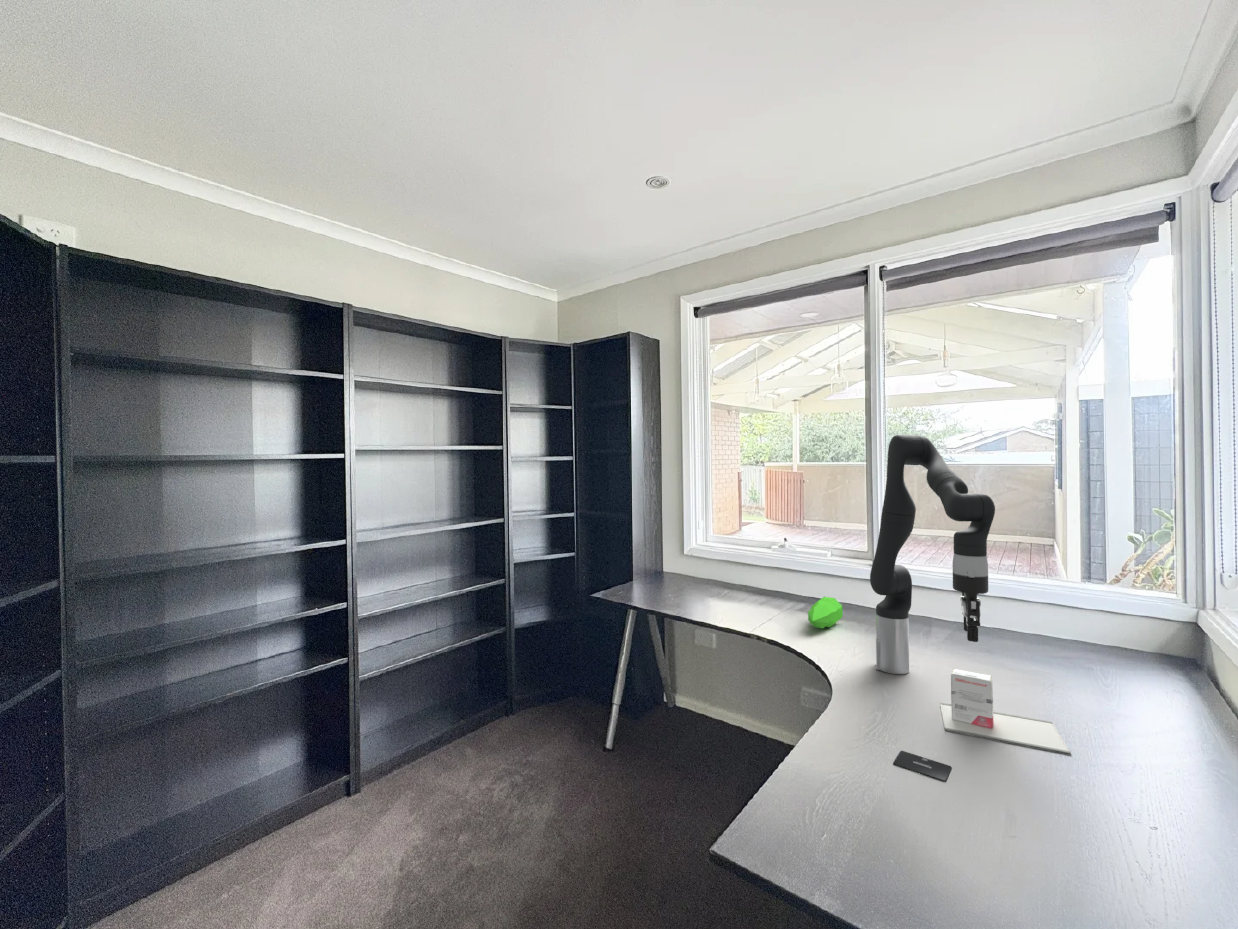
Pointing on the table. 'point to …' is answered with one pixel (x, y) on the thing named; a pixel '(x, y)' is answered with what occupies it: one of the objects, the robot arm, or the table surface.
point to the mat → (1010, 730)
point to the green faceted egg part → (825, 612)
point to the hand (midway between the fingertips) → (970, 636)
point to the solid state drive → (922, 766)
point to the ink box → (972, 698)
